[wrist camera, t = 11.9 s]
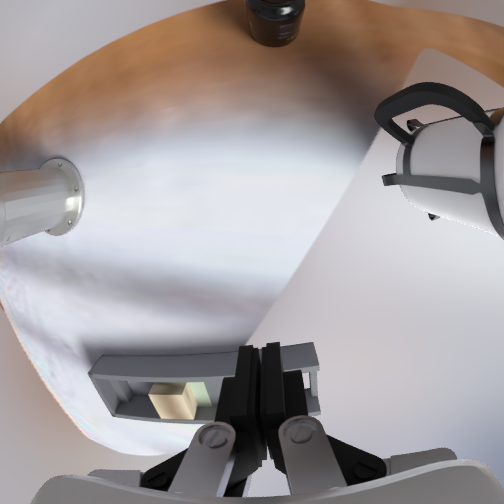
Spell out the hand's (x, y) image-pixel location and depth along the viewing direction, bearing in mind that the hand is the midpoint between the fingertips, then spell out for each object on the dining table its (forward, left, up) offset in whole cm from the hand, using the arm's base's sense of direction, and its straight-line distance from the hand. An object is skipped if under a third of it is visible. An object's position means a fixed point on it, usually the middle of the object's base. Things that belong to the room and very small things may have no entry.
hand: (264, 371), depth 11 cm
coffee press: (+23, +7, -27) cm, 36 cm away
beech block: (-18, -24, -25) cm, 39 cm away
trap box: (-14, -23, -27) cm, 38 cm away
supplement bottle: (+6, +29, -27) cm, 40 cm away
